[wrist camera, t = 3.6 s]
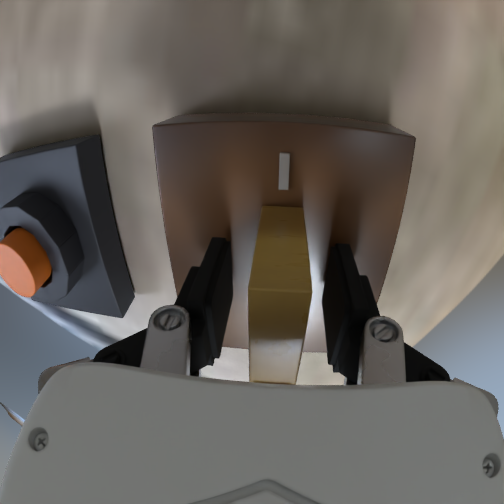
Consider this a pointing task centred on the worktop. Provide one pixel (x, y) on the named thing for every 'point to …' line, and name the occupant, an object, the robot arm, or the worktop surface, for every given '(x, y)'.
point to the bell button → (23, 262)
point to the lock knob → (278, 296)
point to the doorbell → (68, 223)
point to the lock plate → (281, 195)
